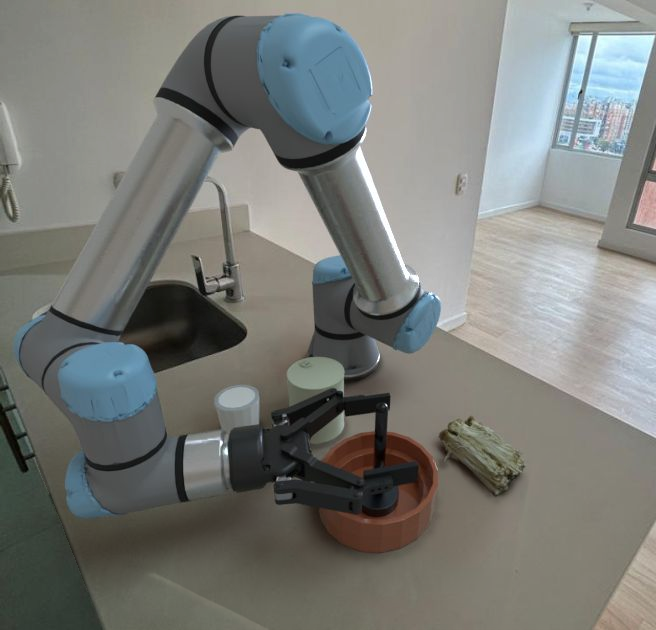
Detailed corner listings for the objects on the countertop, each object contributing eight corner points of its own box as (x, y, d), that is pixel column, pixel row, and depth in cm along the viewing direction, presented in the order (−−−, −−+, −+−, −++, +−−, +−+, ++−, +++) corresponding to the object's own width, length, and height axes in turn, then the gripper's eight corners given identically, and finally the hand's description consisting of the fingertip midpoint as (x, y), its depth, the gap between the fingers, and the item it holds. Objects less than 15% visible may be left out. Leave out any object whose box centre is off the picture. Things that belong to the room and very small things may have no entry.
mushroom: (429, 452, 74) (432, 426, 72) (468, 428, 80) (472, 404, 77) (496, 509, 65) (502, 483, 62) (535, 478, 71) (542, 452, 68)
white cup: (271, 428, 76) (268, 395, 73) (236, 451, 71) (231, 416, 68) (245, 411, 79) (241, 378, 76) (210, 432, 74) (204, 398, 71)
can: (321, 403, 83) (319, 347, 77) (355, 426, 78) (356, 369, 72) (278, 427, 76) (273, 368, 71) (313, 454, 71) (310, 394, 66)
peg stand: (367, 477, 67) (371, 384, 60) (404, 490, 66) (412, 397, 58) (348, 508, 62) (349, 411, 54) (388, 523, 61) (394, 425, 53)
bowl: (353, 447, 74) (353, 419, 71) (448, 479, 69) (452, 450, 66) (295, 528, 60) (293, 496, 57) (409, 575, 55) (412, 543, 52)
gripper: (237, 417, 65) (379, 398, 72) (227, 580, 44) (429, 532, 51) (231, 374, 62) (381, 358, 68) (218, 529, 41) (435, 485, 47)
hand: (402, 433), depth 60 cm, fingers open, 13 cm apart
